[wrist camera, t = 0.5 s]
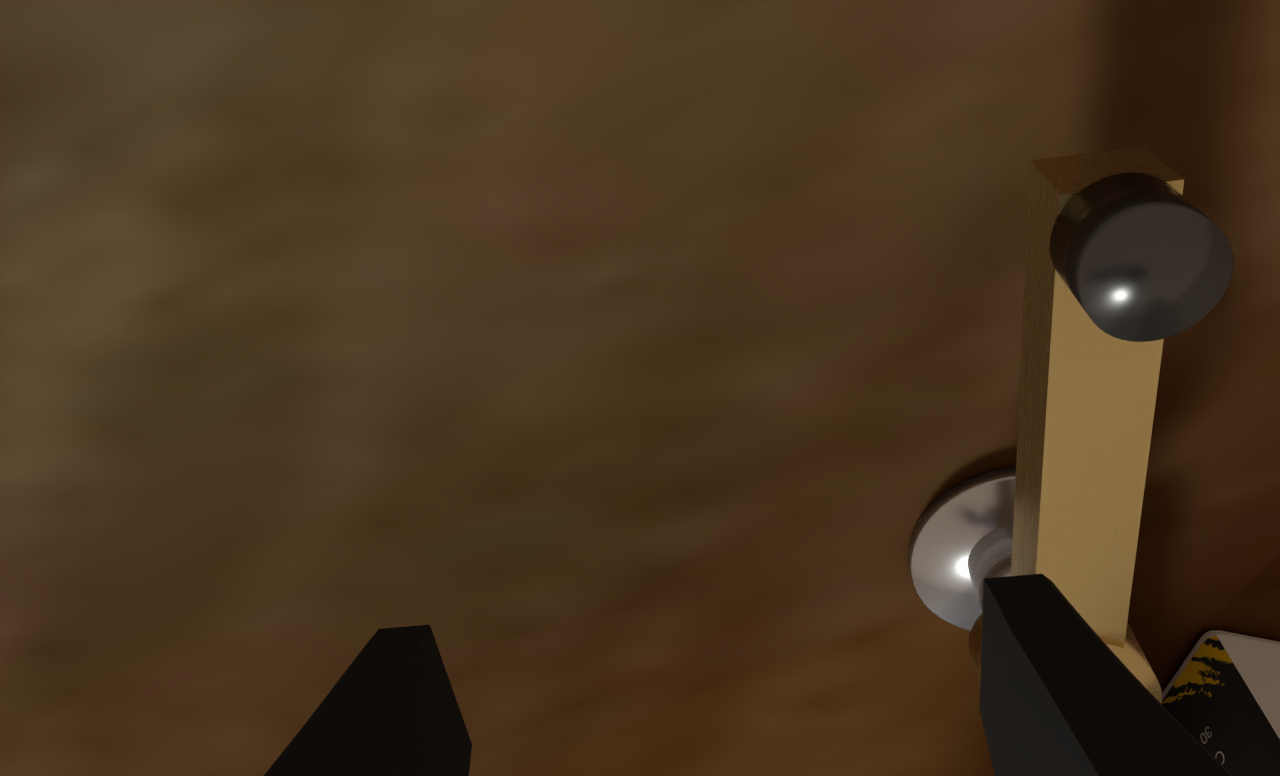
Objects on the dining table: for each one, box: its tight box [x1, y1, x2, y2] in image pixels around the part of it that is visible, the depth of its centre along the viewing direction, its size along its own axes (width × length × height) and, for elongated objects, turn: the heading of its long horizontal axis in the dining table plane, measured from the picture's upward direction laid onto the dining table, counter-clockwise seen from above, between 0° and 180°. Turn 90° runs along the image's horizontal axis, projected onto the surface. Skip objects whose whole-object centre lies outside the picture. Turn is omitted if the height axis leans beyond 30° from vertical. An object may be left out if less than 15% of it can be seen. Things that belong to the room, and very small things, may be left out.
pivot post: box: [908, 467, 1016, 630], centre depth 21 cm, size 4×4×2 cm
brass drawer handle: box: [969, 146, 1233, 704], centre depth 17 cm, size 12×3×3 cm, turn 9°
